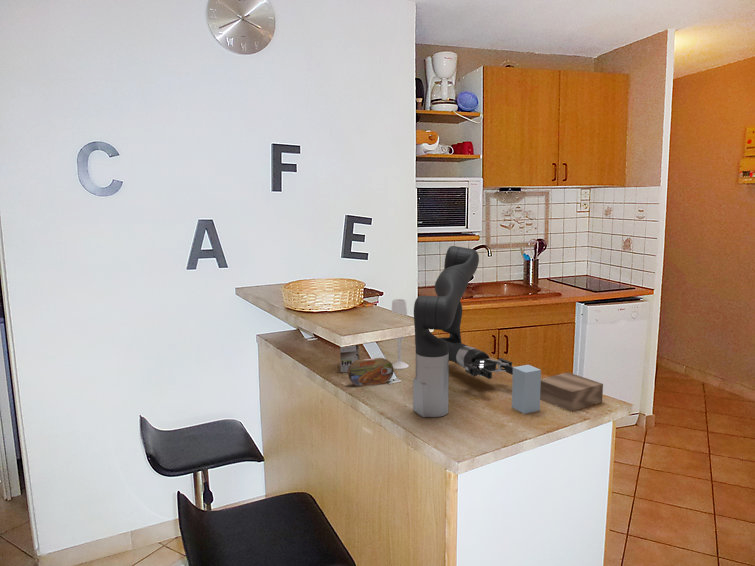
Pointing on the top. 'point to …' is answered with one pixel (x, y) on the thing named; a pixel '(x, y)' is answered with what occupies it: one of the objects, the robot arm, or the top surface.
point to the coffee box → (348, 356)
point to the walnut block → (571, 391)
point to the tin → (370, 371)
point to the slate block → (526, 389)
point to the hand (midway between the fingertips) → (502, 373)
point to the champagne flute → (400, 308)
